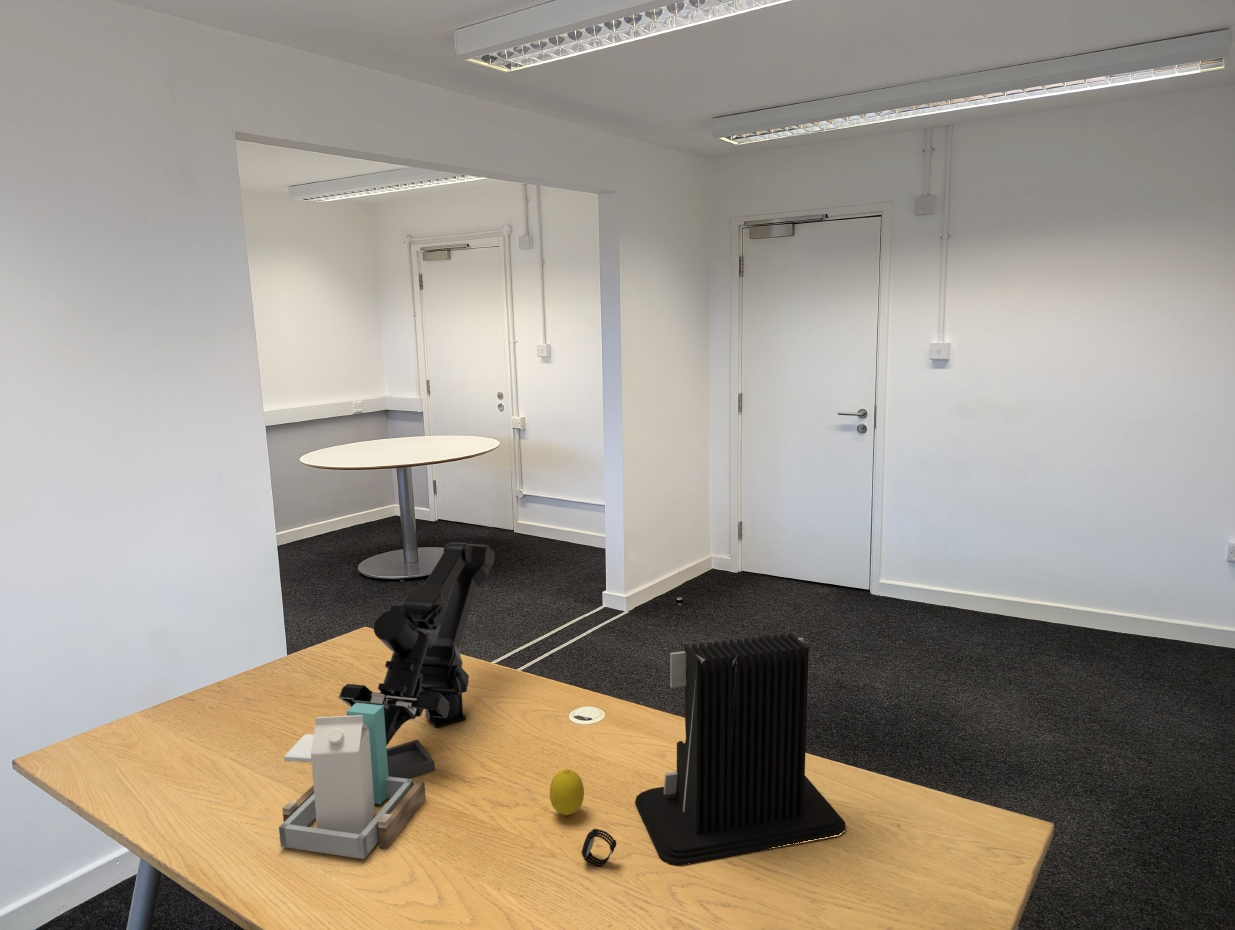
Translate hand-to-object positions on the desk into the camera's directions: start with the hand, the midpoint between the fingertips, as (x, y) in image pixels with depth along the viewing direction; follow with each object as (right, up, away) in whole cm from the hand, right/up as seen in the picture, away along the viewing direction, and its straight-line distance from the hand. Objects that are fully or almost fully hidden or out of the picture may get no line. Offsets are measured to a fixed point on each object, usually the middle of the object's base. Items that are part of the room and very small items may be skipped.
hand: (379, 750), depth 137 cm
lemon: (+32, -8, -7) cm, 34 cm away
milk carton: (-2, -9, -9) cm, 13 cm away
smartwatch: (+38, -10, -18) cm, 43 cm away
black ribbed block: (+60, -8, -7) cm, 61 cm away
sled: (-2, -9, -9) cm, 13 cm away
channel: (-2, -8, -6) cm, 11 cm away
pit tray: (+2, -6, +8) cm, 10 cm away
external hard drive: (-14, -6, +14) cm, 20 cm away
